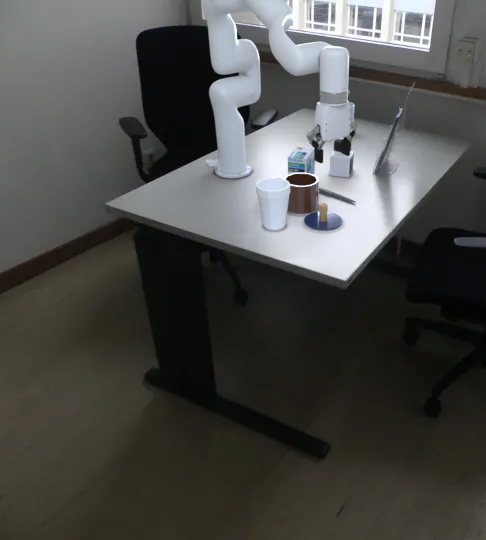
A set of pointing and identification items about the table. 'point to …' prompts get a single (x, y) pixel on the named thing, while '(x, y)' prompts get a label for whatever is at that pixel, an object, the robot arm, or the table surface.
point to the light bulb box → (301, 161)
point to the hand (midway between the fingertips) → (332, 158)
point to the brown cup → (303, 193)
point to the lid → (323, 219)
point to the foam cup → (273, 201)
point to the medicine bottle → (341, 161)
